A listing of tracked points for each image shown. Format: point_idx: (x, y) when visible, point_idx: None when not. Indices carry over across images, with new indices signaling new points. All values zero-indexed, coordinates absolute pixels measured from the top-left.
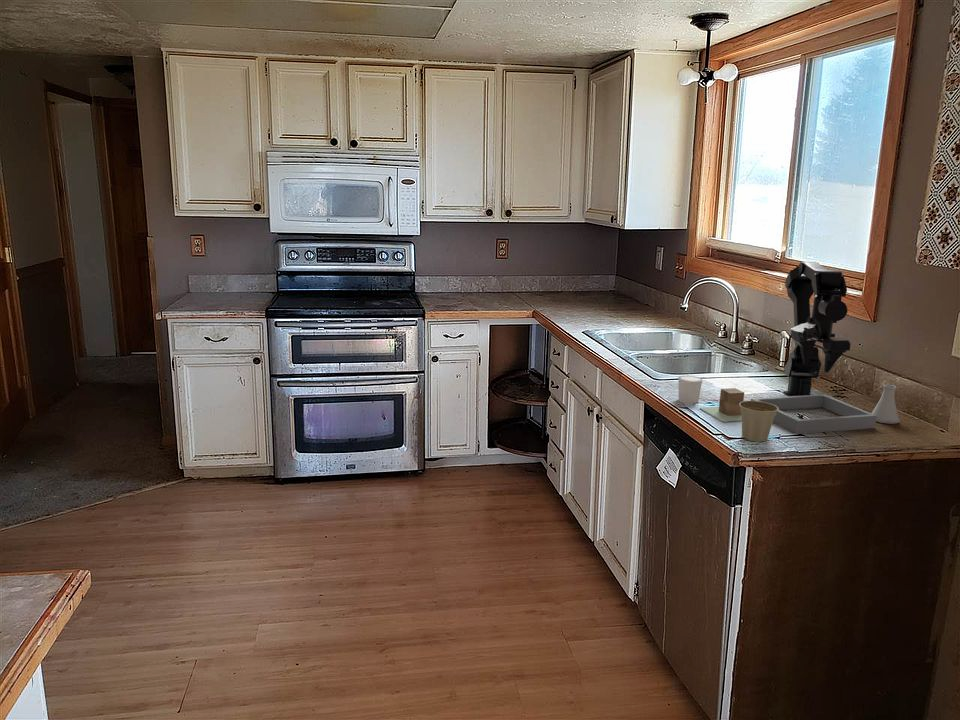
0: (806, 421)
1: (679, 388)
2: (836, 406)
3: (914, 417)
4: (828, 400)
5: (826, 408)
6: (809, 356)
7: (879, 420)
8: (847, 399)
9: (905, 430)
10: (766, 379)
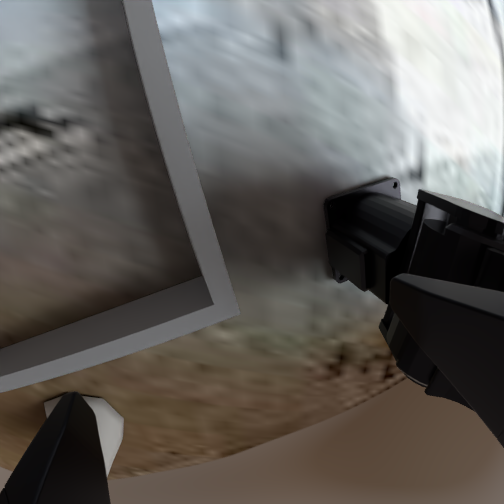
0: None
1: None
2: (117, 323)
3: (147, 473)
4: (173, 310)
5: (174, 287)
6: (440, 357)
7: (47, 406)
8: (308, 378)
9: (11, 427)
10: (492, 193)
